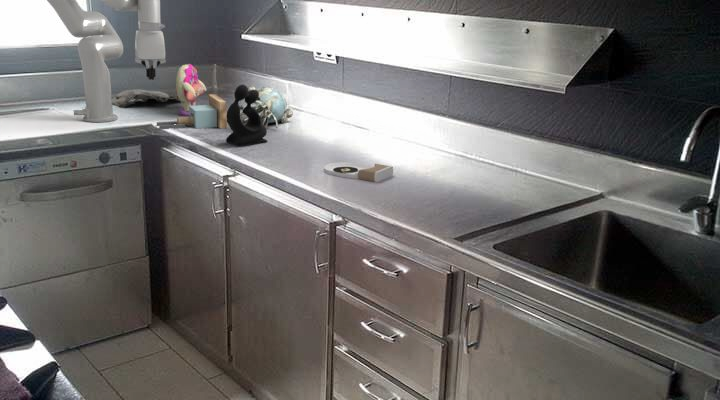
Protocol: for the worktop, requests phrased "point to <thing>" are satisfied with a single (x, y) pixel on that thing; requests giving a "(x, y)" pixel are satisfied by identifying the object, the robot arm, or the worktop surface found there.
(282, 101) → the sculpture
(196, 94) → the toy
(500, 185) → the worktop surface
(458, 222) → the worktop surface
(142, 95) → the stone fragment
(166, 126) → the guide rails
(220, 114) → the block
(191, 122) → the dowel
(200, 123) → the block
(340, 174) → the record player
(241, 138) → the figurine
